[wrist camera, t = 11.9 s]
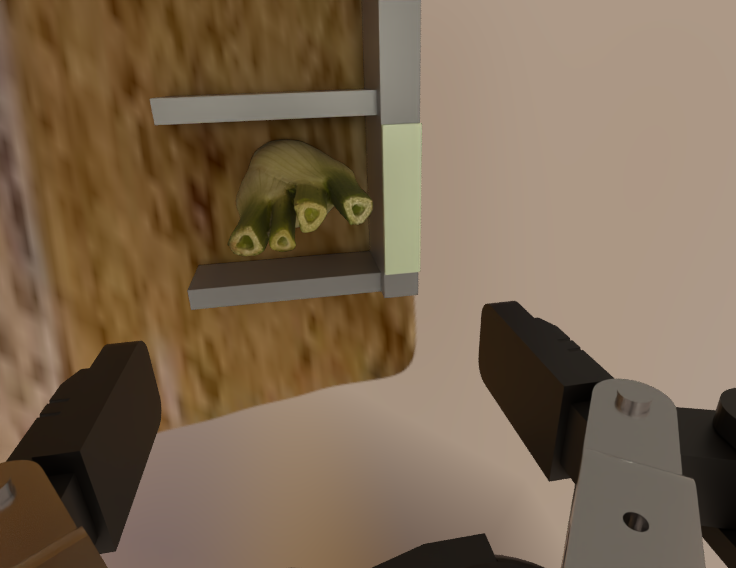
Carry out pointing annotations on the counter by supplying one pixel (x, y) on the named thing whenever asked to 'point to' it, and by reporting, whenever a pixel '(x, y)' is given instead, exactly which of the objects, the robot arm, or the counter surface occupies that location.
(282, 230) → the fennel bulb
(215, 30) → the counter surface
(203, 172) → the counter surface
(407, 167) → the comb rack
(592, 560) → the robot arm
